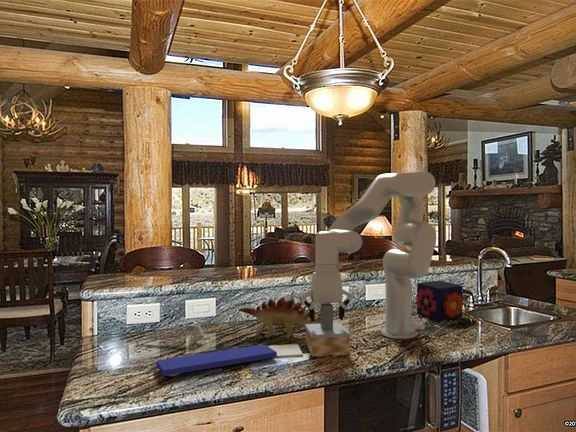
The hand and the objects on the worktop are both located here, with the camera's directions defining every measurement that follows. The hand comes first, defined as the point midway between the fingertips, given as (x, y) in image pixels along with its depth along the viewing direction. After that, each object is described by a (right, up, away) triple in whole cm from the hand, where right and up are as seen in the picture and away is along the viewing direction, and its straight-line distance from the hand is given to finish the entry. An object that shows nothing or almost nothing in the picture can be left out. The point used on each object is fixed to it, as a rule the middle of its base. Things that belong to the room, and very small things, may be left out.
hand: (326, 319), depth 146 cm
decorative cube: (+52, -9, +43) cm, 69 cm away
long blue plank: (-34, -10, -13) cm, 38 cm away
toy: (-14, -10, +16) cm, 24 cm away
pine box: (0, -10, 0) cm, 10 cm away
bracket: (-54, -10, +7) cm, 55 cm away
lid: (0, -4, 0) cm, 4 cm away
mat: (-14, -10, -2) cm, 17 cm away
